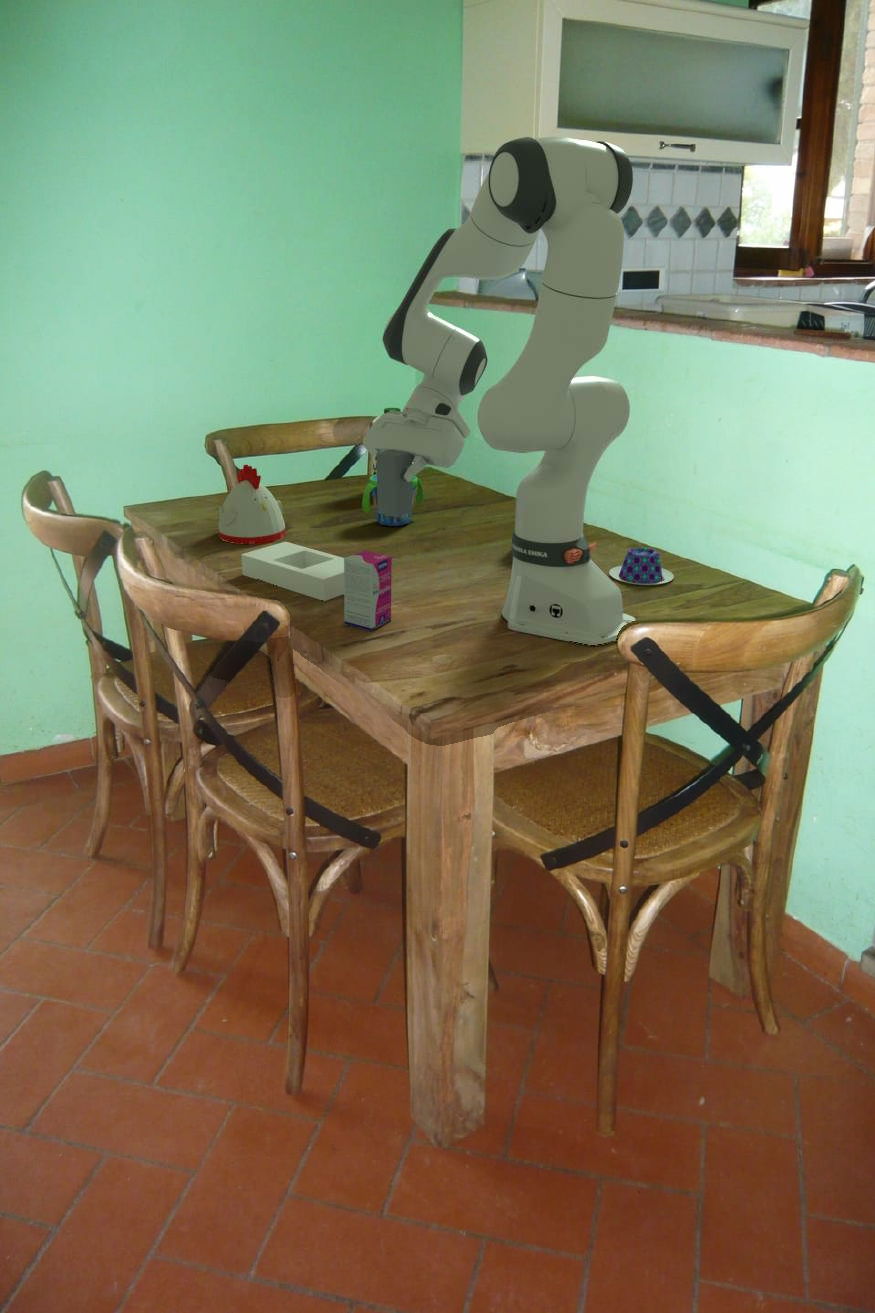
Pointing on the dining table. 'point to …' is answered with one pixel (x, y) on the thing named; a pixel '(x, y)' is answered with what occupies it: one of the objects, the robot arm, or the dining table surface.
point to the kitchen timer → (251, 512)
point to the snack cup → (372, 487)
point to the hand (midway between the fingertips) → (392, 477)
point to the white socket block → (297, 569)
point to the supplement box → (367, 590)
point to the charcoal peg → (393, 483)
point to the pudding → (641, 568)
